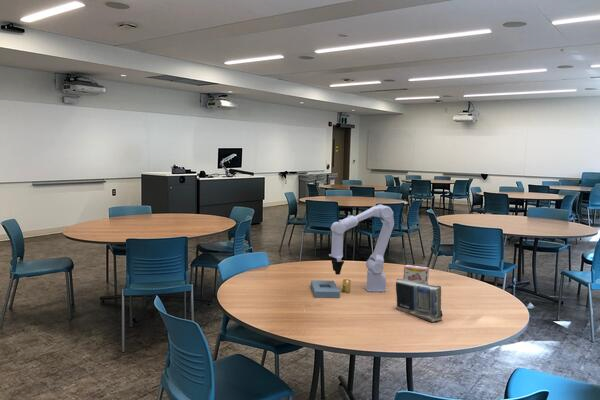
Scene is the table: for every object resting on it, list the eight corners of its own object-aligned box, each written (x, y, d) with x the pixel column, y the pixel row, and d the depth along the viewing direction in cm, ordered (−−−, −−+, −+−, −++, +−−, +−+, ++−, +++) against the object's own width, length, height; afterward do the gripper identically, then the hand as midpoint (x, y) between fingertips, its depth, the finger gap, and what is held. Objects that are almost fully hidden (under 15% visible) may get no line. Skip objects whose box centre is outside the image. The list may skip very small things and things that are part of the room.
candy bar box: (401, 299, 220) (403, 266, 219) (404, 296, 225) (405, 264, 223) (425, 303, 216) (427, 269, 214) (427, 300, 220) (429, 267, 219)
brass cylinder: (349, 290, 233) (349, 279, 232) (350, 293, 229) (351, 281, 228) (341, 290, 232) (342, 279, 232) (343, 293, 228) (343, 281, 228)
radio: (391, 307, 209) (393, 275, 207) (406, 304, 213) (407, 273, 212) (428, 324, 188) (430, 288, 187) (443, 321, 193) (445, 286, 191)
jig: (333, 286, 240) (333, 280, 240) (339, 297, 220) (340, 291, 220) (310, 285, 239) (310, 280, 239) (315, 297, 219) (315, 291, 219)
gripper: (327, 243, 236) (326, 268, 238) (331, 248, 222) (330, 276, 223) (340, 243, 237) (340, 268, 238) (345, 248, 223) (344, 276, 224)
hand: (336, 272), depth 231 cm, fingers open, 7 cm apart
